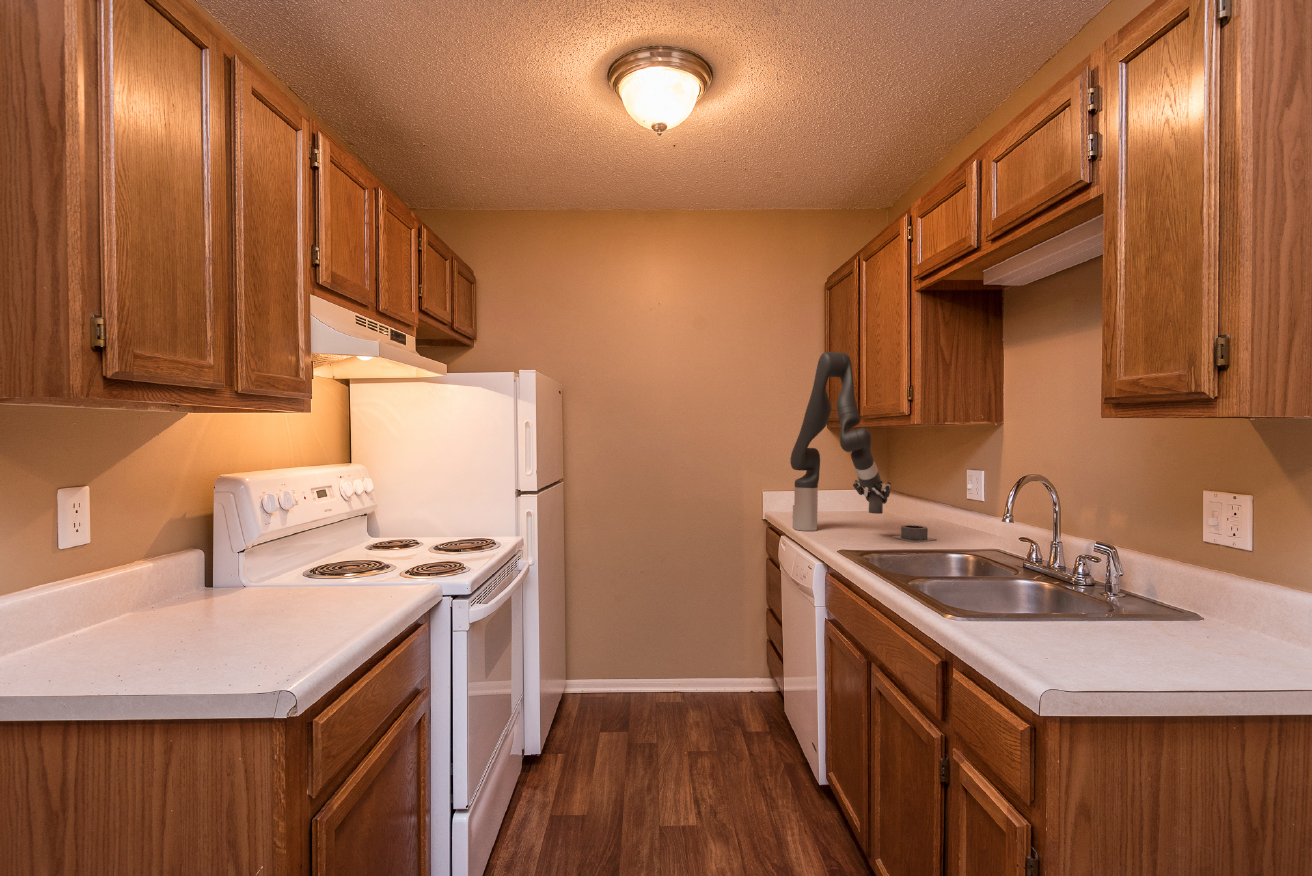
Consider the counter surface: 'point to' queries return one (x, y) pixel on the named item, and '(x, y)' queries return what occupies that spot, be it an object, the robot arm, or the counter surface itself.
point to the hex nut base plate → (914, 533)
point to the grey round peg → (875, 503)
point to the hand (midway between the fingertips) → (877, 501)
